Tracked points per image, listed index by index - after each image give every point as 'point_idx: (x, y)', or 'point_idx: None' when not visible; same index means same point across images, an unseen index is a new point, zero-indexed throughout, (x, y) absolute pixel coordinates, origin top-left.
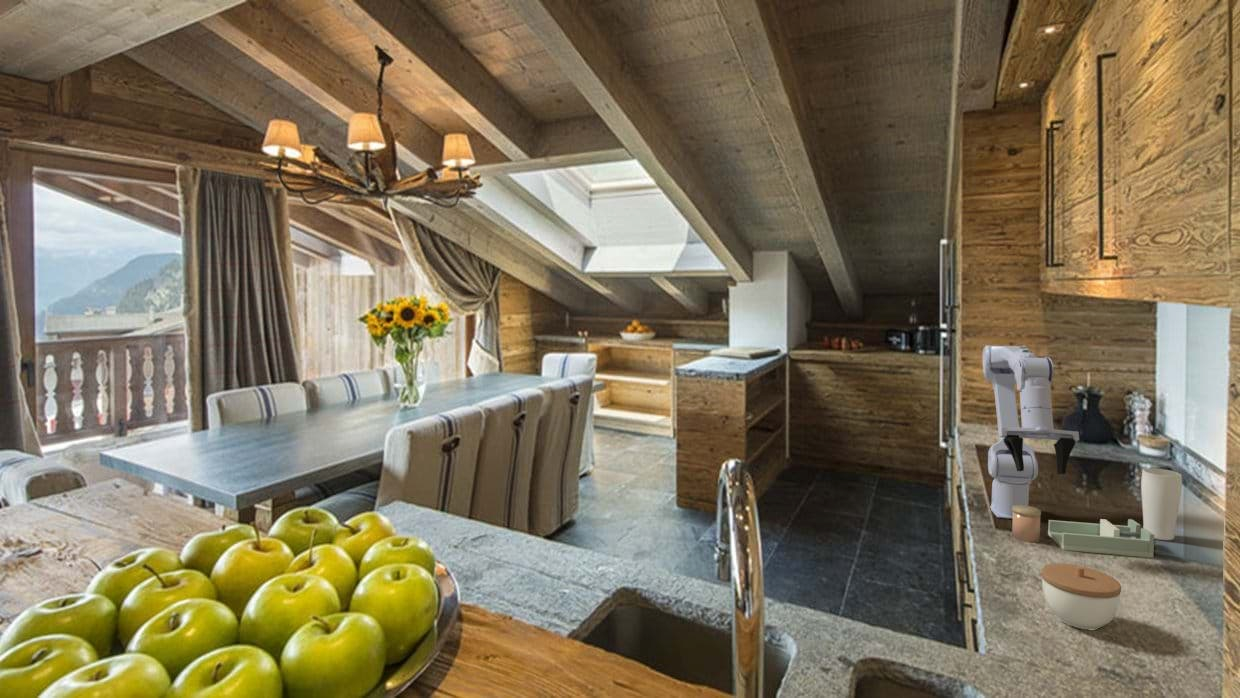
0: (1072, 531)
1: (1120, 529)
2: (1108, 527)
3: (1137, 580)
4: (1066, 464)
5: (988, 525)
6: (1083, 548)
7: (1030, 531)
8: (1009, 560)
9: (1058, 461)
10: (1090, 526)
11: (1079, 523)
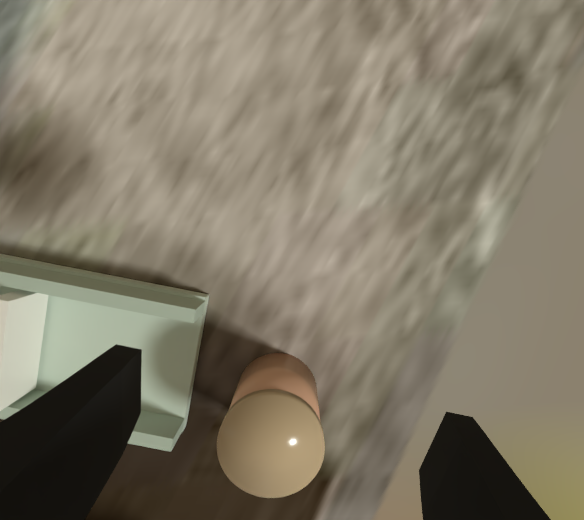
0: None
1: None
2: (9, 343)
3: (119, 68)
4: (52, 388)
5: (345, 496)
6: (149, 285)
7: (282, 366)
8: (433, 196)
9: (73, 506)
10: None
11: None
